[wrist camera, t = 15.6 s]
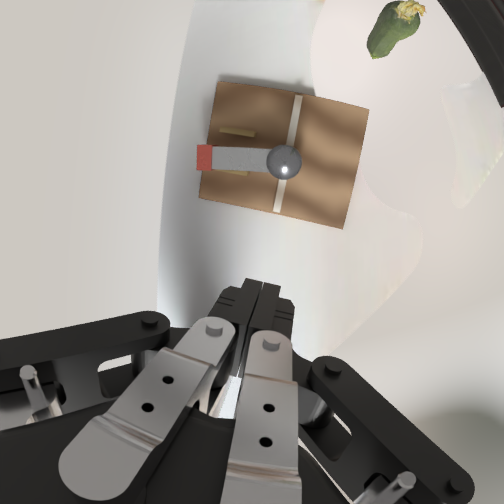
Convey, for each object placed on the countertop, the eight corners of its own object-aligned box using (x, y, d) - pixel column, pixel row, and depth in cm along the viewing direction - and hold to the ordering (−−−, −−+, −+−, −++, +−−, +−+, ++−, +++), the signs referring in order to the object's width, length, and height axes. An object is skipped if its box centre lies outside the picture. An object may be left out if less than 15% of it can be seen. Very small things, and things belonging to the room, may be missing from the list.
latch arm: (303, 146, 40) (302, 146, 37) (301, 178, 42) (300, 181, 39) (204, 141, 42) (196, 141, 39) (203, 171, 44) (195, 174, 41)
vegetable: (360, 37, 37) (389, -24, 18) (387, 37, 36) (430, -20, 17) (366, 63, 38) (402, 13, 19) (393, 63, 37) (443, 17, 18)
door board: (341, 227, 47) (344, 233, 43) (201, 196, 49) (193, 200, 46) (367, 110, 40) (372, 107, 37) (220, 82, 43) (213, 78, 39)
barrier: (528, 94, 32) (562, 90, 23) (499, 108, 35) (533, 105, 26) (459, -23, 28) (481, -46, 19) (425, -15, 31) (445, -40, 21)
